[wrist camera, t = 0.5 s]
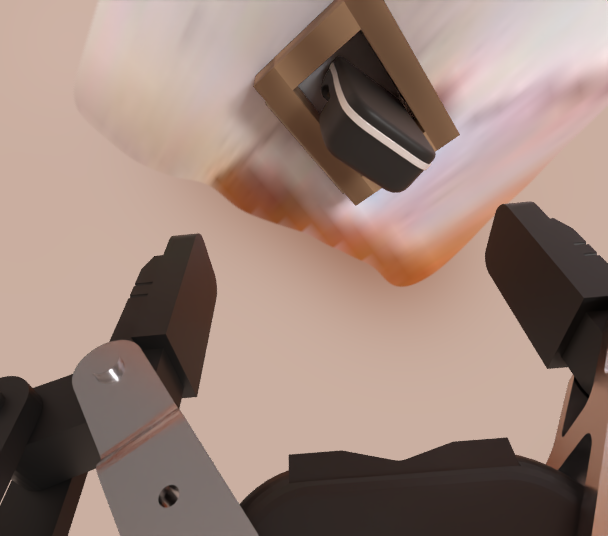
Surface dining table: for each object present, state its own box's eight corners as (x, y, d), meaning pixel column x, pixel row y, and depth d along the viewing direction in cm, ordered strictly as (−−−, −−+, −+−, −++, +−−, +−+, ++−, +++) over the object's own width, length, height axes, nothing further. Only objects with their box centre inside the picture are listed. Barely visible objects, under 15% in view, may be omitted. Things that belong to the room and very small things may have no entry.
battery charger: (307, 95, 31) (314, 155, 23) (335, 50, 29) (355, 98, 21) (373, 141, 34) (403, 211, 25) (403, 103, 32) (447, 165, 23)
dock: (362, -27, 26) (370, -24, 24) (447, 121, 33) (459, 134, 31) (253, 77, 30) (250, 89, 28) (349, 190, 37) (353, 207, 35)
